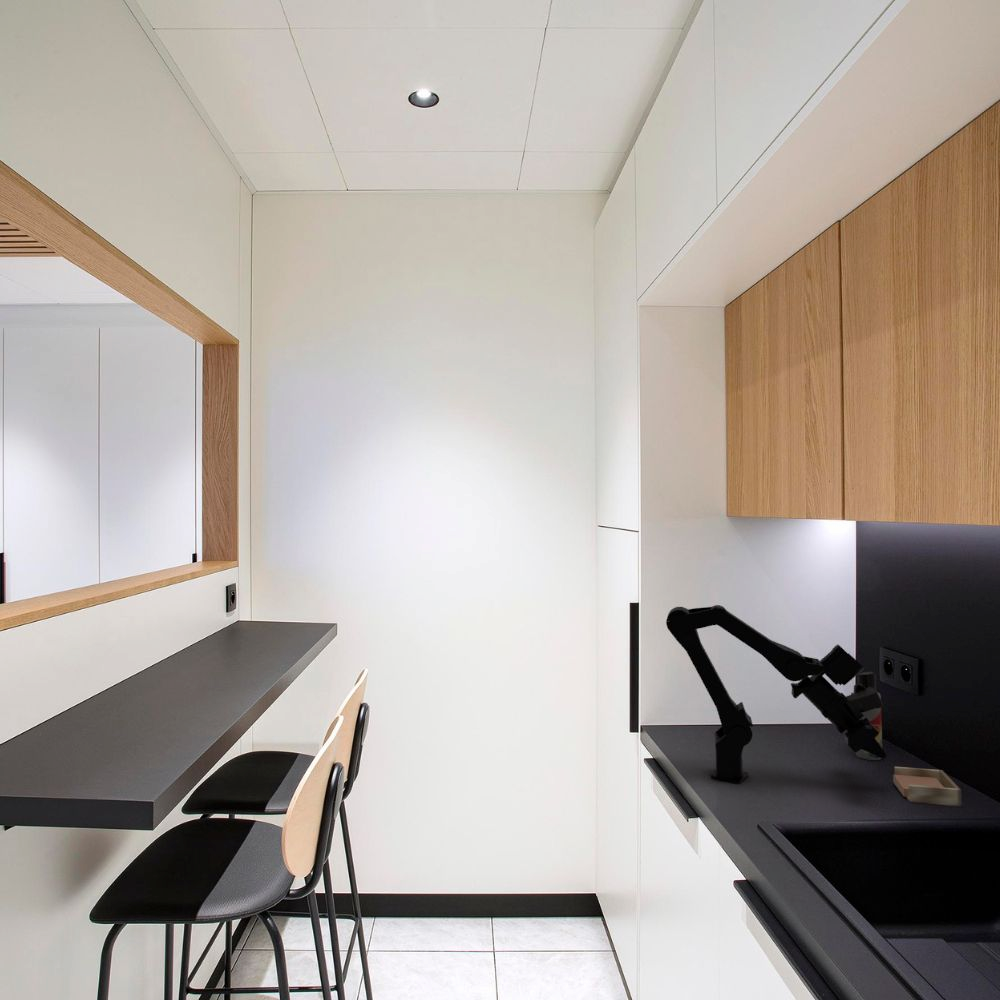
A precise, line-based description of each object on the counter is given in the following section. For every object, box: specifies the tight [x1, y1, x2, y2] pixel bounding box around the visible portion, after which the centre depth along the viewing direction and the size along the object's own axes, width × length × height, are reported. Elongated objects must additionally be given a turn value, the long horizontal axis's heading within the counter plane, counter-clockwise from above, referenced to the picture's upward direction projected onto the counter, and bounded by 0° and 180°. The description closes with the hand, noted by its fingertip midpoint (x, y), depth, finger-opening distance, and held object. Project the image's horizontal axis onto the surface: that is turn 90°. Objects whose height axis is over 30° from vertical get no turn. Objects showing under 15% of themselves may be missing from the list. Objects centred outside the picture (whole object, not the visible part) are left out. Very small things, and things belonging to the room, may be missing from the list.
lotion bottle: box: [855, 671, 883, 761], centre depth 165 cm, size 6×6×20 cm
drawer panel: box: [892, 774, 943, 798], centre depth 143 cm, size 2×8×8 cm
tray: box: [894, 766, 963, 807], centre depth 143 cm, size 9×11×3 cm
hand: (884, 757), depth 145 cm, fingers closed
